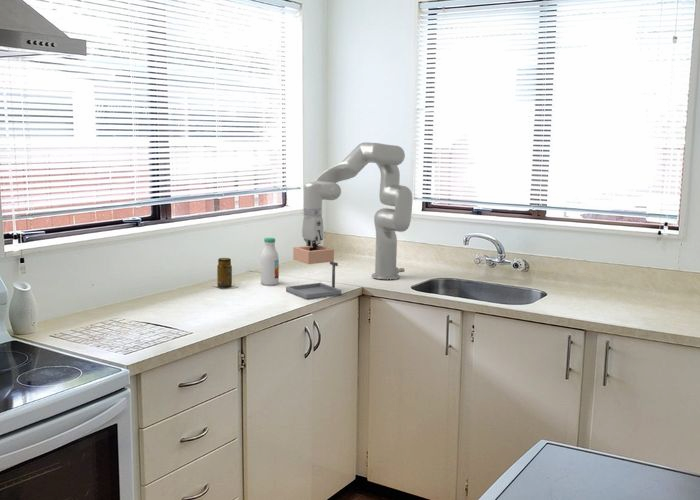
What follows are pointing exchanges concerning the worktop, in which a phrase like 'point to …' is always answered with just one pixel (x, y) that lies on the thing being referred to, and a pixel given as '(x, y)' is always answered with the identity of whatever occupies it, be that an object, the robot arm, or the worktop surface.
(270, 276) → the milk bottle
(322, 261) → the ring
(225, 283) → the condiment
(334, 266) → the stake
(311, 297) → the tray
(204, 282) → the worktop surface
